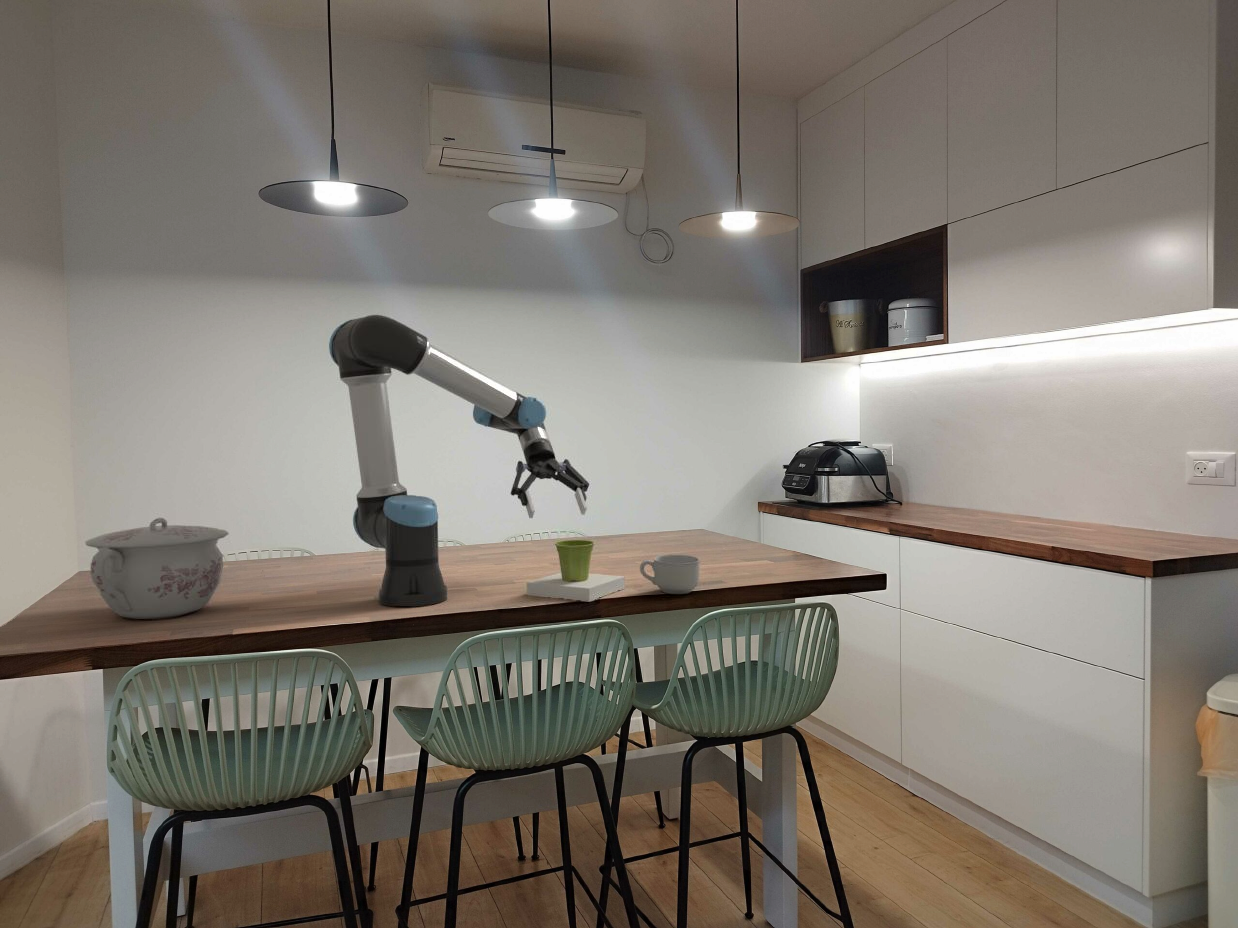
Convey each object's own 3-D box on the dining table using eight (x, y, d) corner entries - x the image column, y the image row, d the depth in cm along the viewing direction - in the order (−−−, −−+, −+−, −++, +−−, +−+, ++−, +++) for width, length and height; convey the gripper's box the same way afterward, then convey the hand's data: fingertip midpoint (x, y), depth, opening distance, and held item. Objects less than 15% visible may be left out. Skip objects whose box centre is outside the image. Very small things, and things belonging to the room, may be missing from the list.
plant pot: (603, 578, 203) (603, 542, 203) (574, 584, 196) (573, 546, 196) (576, 574, 210) (575, 538, 209) (547, 580, 203) (546, 543, 202)
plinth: (526, 595, 200) (526, 582, 200) (565, 583, 214) (565, 571, 214) (589, 601, 192) (589, 588, 192) (625, 589, 206) (624, 576, 206)
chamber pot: (214, 594, 207) (210, 508, 206) (247, 613, 186) (243, 517, 185) (76, 612, 190) (72, 518, 189) (95, 635, 168) (90, 529, 167)
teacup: (700, 587, 207) (700, 554, 206) (700, 596, 196) (699, 561, 195) (642, 587, 208) (641, 554, 208) (638, 596, 197) (638, 561, 197)
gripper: (578, 457, 232) (601, 519, 220) (488, 460, 222) (506, 525, 209) (585, 438, 227) (609, 500, 214) (493, 440, 217) (512, 506, 204)
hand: (558, 513), depth 212 cm, fingers open, 13 cm apart
